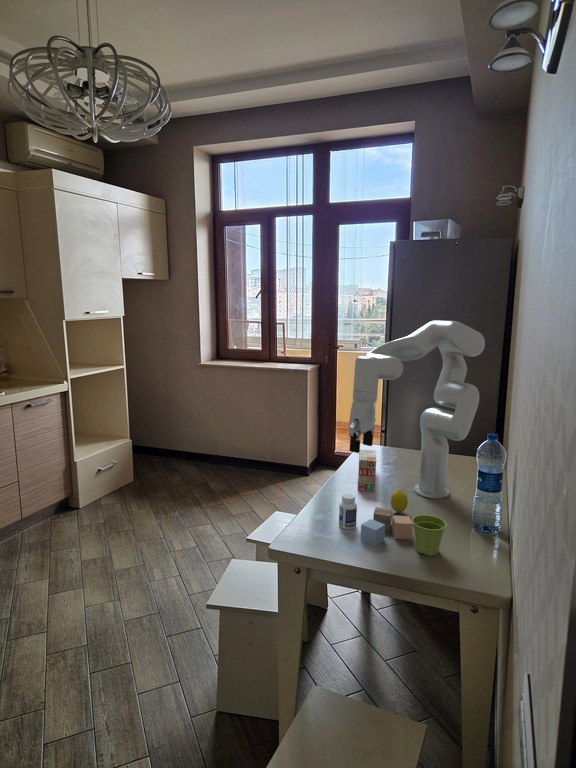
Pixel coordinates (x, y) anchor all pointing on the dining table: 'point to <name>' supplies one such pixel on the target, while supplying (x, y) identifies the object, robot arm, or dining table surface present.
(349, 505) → the pill bottle
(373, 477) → the stack of blocks
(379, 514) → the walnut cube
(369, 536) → the slate blue cube
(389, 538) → the dining table surface
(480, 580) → the dining table surface
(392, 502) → the lemon
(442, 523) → the plant pot
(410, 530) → the terracotta cube
